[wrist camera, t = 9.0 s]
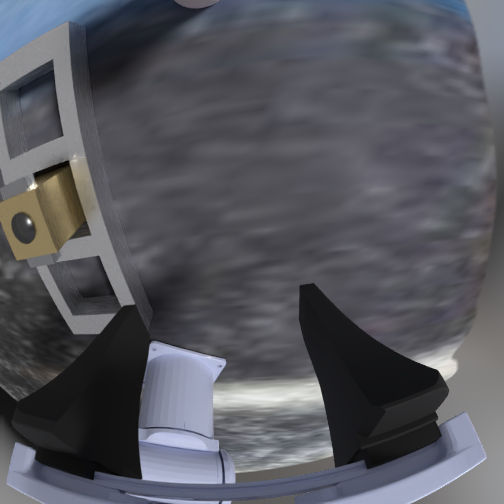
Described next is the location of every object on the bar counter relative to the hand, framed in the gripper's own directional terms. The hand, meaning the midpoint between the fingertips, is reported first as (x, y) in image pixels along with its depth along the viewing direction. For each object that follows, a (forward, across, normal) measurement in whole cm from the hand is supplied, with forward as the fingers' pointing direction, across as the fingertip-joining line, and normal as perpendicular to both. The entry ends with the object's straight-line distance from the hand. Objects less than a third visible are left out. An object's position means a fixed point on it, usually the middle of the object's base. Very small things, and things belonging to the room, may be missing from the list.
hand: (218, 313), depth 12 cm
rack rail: (+9, +11, -4) cm, 15 cm away
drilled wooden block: (+10, +11, -4) cm, 15 cm away
